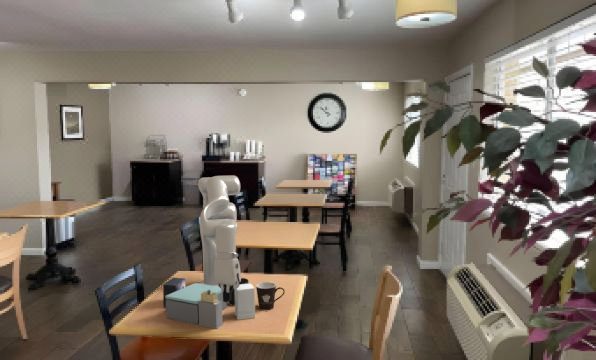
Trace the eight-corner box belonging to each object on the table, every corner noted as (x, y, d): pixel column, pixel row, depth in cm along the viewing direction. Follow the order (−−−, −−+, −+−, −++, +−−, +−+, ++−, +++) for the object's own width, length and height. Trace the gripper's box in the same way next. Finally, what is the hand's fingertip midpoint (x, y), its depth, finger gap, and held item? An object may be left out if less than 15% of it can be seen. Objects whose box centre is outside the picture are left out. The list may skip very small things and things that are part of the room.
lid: (195, 285, 221) (195, 282, 221) (226, 290, 214) (226, 287, 214) (165, 298, 203) (165, 295, 203) (197, 304, 196) (197, 301, 196)
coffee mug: (253, 309, 213) (252, 287, 212) (261, 303, 221) (261, 281, 220) (277, 313, 209) (277, 290, 208) (285, 306, 217) (285, 284, 216)
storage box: (196, 302, 222) (195, 281, 221) (243, 311, 211) (243, 289, 210) (166, 318, 204) (165, 295, 203) (216, 328, 193) (215, 304, 192)
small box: (176, 308, 215) (175, 285, 214) (162, 307, 217) (162, 284, 216) (186, 300, 226) (186, 277, 224) (173, 299, 227) (172, 277, 226)
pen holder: (234, 297, 228) (233, 276, 227) (252, 300, 225) (251, 278, 223) (223, 304, 219) (223, 283, 218) (242, 307, 216) (242, 285, 215)
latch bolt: (205, 298, 199) (205, 288, 198) (217, 300, 196) (217, 290, 196) (200, 300, 196) (200, 290, 196) (213, 303, 193) (213, 292, 193)
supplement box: (255, 318, 204) (254, 288, 202) (237, 320, 202) (236, 290, 200) (252, 311, 211) (251, 282, 210) (234, 313, 209) (233, 284, 207)
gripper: (247, 254, 190) (248, 300, 192) (215, 250, 197) (217, 295, 199) (237, 259, 184) (238, 307, 186) (204, 255, 190) (205, 301, 192)
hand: (227, 301), depth 192 cm, fingers closed
